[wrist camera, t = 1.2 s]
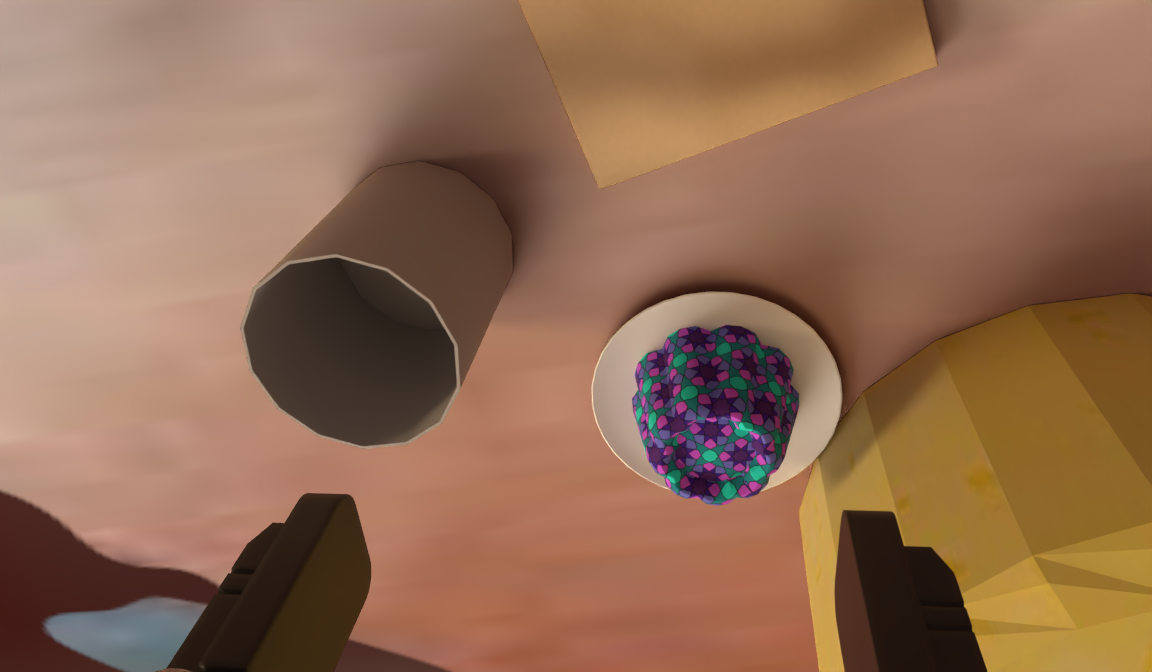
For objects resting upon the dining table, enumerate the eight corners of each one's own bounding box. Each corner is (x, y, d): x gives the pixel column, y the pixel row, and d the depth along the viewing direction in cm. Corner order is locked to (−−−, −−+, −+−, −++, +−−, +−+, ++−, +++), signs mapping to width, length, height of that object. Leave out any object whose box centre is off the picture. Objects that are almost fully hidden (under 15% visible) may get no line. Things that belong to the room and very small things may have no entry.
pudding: (707, 523, 46) (706, 597, 42) (544, 385, 43) (525, 449, 39) (893, 401, 41) (915, 469, 37) (722, 233, 38) (724, 286, 34)
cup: (488, 148, 37) (423, 240, 29) (532, 312, 41) (487, 436, 33) (314, 178, 39) (204, 273, 31) (372, 333, 43) (288, 456, 35)
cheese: (1477, 295, 35) (1923, 560, 22) (1262, 711, 48) (1466, 1031, 35) (818, 291, 39) (872, 515, 26) (784, 678, 52) (809, 956, 39)
